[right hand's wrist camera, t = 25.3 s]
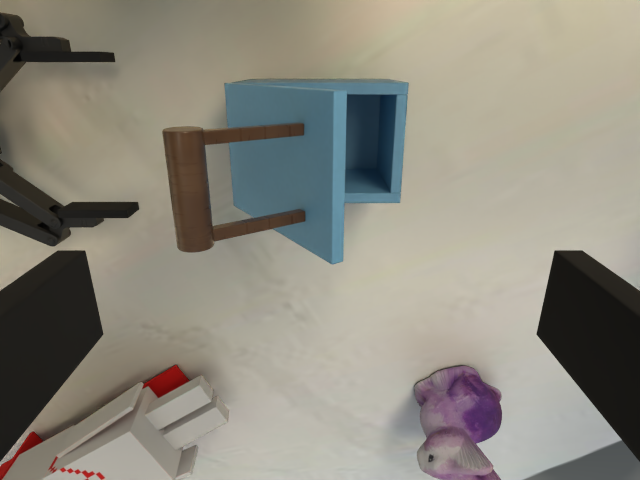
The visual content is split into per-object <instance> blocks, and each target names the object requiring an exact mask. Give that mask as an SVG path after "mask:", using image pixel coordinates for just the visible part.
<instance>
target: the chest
mask: <svg viewBox="0 0 640 480" xmlns="http://www.w3.org/2000/svg"><path fill="white" fill-rule="evenodd" d="M232 83H244V84H259V85H274V86H288V87H303V88H318V89H332V90H346V91H347V108H346V153H345V199H344V203H400V196H401V193H400V192H401V181H402V167H403V153H404V139H405V125H406V111H407V94H408V84H409V83H407V82H401V81H395V80H390V79H249V80H244V81H238V82H232Z"/></svg>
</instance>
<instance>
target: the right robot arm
mask: <svg viewBox="0 0 640 480" xmlns="http://www.w3.org/2000/svg"><path fill="white" fill-rule="evenodd" d="M102 335H103V330H102V325H101V321H100V316H99V312H98V307H97V302H96V298H95V293H94V289H93V284H92V279H91V275H90V270H89V266H88V261H87V256H86V252H85V251H57V252H55V253H54V254H52V255H51V256H49V257H48V258H47V259H45V260H44V261H42V262H41V263H39V264H38V265H37V266H35V267H34V268H32V269H31V270H29V271H28V272H27V273H25V274H24V275H22V276H21V277H19V278H18V279H17V280H15V281H14V282H12V283H11V284H9V285H8V286H7V287H5V288H4V289H2V290H1V291H0V461H1V460H2V459H3V458H4V456H5V455H6V454H7V453H8V451H9V450H10V449H11V448H12V447H13V445H14V444H15V443H16V442H17V440H18V439H19V438H20V437H21V435H22V434H23V433H24V432H25V430H26V429H27V428H28V427H29V426H30V424H31V423H32V422H33V421H34V419H35V418H36V417H37V416H38V414H39V413H40V412H41V411H42V409H43V408H44V407H45V406H46V405H47V403H48V402H49V401H50V400H51V398H52V397H53V396H54V395H55V393H56V392H57V391H58V390H59V389H60V387H61V386H62V385H63V384H64V382H65V381H66V380H67V379H68V377H69V376H70V375H71V374H72V372H73V371H74V370H75V369H76V368H77V366H78V365H79V364H80V363H81V361H82V360H83V359H84V358H85V356H86V355H87V354H88V353H89V351H90V350H91V349H92V348H93V347H94V345H95V344H96V343H97V342H98V340H99V339H100V338H101V337H102ZM537 335H538V337H539V338H540V339H541V340H542V342H543V343H544V344H545V345H546V347H547V348H548V349H549V350H550V351H551V353H552V354H553V355H554V356H555V358H556V359H557V360H558V361H559V363H560V364H561V365H562V366H563V368H564V369H565V370H566V371H567V372H568V374H569V375H570V376H571V377H572V379H573V380H574V381H575V382H576V384H577V385H578V386H579V387H580V389H581V390H582V391H583V392H584V393H585V395H586V396H587V397H588V398H589V400H590V401H591V402H592V403H593V405H594V406H595V407H596V408H597V409H598V411H599V412H600V413H601V414H602V416H603V417H604V418H605V419H606V421H607V422H608V423H609V424H610V426H611V427H612V428H613V429H614V430H615V432H616V433H617V434H618V435H619V437H620V438H621V439H622V440H623V442H624V443H625V444H626V445H627V446H628V448H629V449H630V450H631V451H632V453H633V454H634V455H635V456H636V458H637V459H638V460H639V461H640V291H639V290H638V289H636V288H635V287H633V286H632V285H631V284H629V283H628V282H626V281H625V280H623V279H622V278H621V277H619V276H618V275H616V274H615V273H613V272H612V271H611V270H609V269H608V268H606V267H605V266H603V265H602V264H601V263H599V262H598V261H596V260H595V259H593V258H592V257H591V256H589V255H588V254H586V253H585V252H583V251H555V252H554V256H553V261H552V266H551V270H550V275H549V279H548V284H547V289H546V293H545V298H544V302H543V307H542V312H541V316H540V321H539V325H538V330H537Z"/></svg>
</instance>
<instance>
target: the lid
mask: <svg viewBox="0 0 640 480" xmlns="http://www.w3.org/2000/svg"><path fill="white" fill-rule="evenodd" d="M225 97H226V110H227V123H228V128H218V129H205V130H203V128H200V127H172V128H166V129H163V131H162V133H163V140H164V148H165V156H166V163H167V171H168V179H169V186H170V194H171V202H172V209H173V217H174V224H175V232H176V240H177V247H178V249H179V250H181V251H183V252H201V251H205V250H208V249H210V248H212V247H213V245H214V241H218V240H223V239H227V238H232V237H237V236H241V235H246V234H250V233H255V232H259V231H264V230H269V229H274V230H275V231H277V232H279V233H280V234H282V235H284V236H285V237H287V238H289V239H290V240H292V241H294V242H295V243H297V244H299V245H300V246H302V247H304V248H305V249H307V250H309V251H310V252H312V253H314V254H315V255H317V256H319V257H320V258H322V259H324V260H325V261H327V262H329V263H330V264H335V263H339V262H342V261H343V245H344V199H345V153H346V108H347V91H346V90H332V89H318V88H303V87H288V86H274V85H259V84H244V83H225ZM221 143H229V149H230V162H231V176H232V189H233V202H234V206H235V207H237V208H239V209H240V210H242V211H244V212H245V213H247V214H249V215H250V216H252V217H254V218H251V219H246V220H241V221H236V222H231V223H226V224H221V225H216V226H213V225H212V214H211V204H210V194H209V183H208V173H207V163H206V152H205V145H211V144H221Z"/></svg>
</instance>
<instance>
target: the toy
mask: <svg viewBox="0 0 640 480" xmlns="http://www.w3.org/2000/svg"><path fill="white" fill-rule="evenodd" d="M212 396H213V389H212V388H211V386H210V385H209V384H208V382H207V381H206V380H205V379H204V377H203V376H202V375H200V376H198V377H196V378H195V379H193V380H191V381H189V380H188V378H187V377H186V376H185V375H184V374H183V372H182V371H181V370H180V369H179V368H178V366H177V365H175V366H173V367H171V368H170V369H168V370H166V371H165V372H163V373H161V374H160V375H158V376H156V377H154V378H153V379H151V380H149V381H148V382H146V383H144V384H143V383H142V382H139V383H138V384H136V385H135V386H133V387H132V388H130V389H129V390H127V391H126V392H124V393H123V394H121V395H120V396H118V397H117V398H115V399H114V400H113V401H111V402H110V403H108V404H107V405H105V406H104V407H102V408H101V409H99V410H98V411H96V412H95V413H93V414H92V415H90V416H89V417H87V418H85V419H84V420H82V421H81V422H80V423H78V424H77V425H73V426H71V427H69V428H67V429H65V430H64V431H62V432H60V433H58V434H56V435H55V436H53V437H51V438H49V439H47V440H45V441H43V440H42V439H41V438H40V437H39V436H38V435H37V434H36V433H34V432H31V433H30V434H29V435H28V437H27V438H26V440H25V441H24V443H23V444H22V445H21V447H20V448H19V450H18V451H17V452H16V454H15V455H14V457H13V458H12V459H11V460H9V461H7V462H5V463H4V464H2V465H1V466H0V480H180V479H182V478H185V477H187V476H189V475H192V473H193V468H194V464H195V460H196V456H197V452H198V446H197V445H195V446H192V447H190V448H188V449H186V450H183V451H182V449H183V446H185V445H187V444H188V443H190V442H192V441H194V440H196V439H198V438H200V437H201V436H203V435H205V434H207V433H209V432H211V431H212V430H214V429H216V428H218V427H220V426H222V425H224V424H225V423H227V422H228V417H229V410H228V408H227V407H226V406H225V404H224V403H223V402H222V400H221V399H220V398H219V397H218V396H216V397H214V398H212Z"/></svg>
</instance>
